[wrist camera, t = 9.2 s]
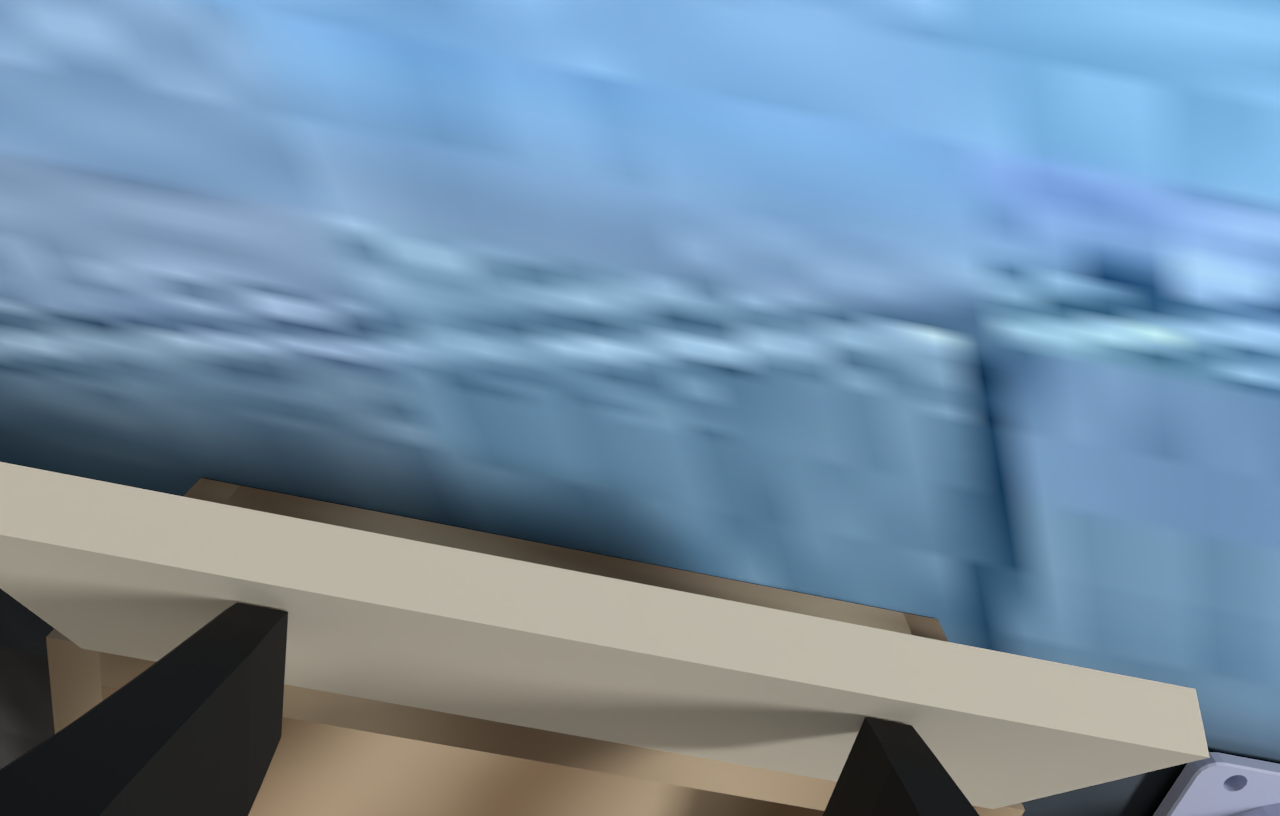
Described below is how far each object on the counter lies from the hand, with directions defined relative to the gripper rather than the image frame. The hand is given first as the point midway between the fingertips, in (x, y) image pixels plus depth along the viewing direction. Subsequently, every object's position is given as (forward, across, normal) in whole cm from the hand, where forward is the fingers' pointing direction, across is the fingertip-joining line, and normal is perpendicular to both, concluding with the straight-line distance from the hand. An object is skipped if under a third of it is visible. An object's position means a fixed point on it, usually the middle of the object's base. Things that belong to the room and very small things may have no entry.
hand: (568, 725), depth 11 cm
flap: (+1, 0, 0) cm, 1 cm away
